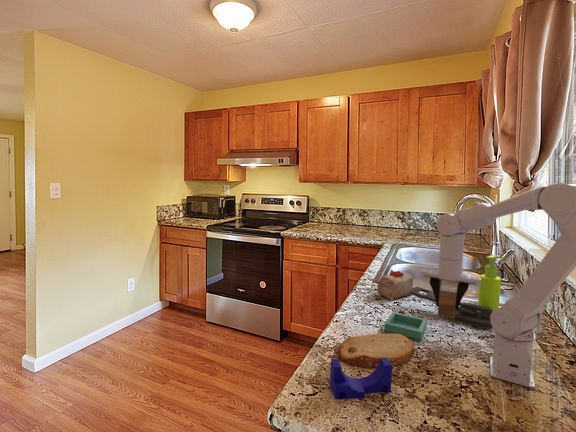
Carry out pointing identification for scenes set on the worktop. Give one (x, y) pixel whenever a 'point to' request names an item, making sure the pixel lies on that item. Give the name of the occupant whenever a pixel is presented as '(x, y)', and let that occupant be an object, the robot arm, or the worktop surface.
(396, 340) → the bread slice
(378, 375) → the blue cradle
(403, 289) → the food item
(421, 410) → the worktop surface
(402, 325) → the teal well
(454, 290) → the walnut post
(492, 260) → the soap dispenser
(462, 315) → the dark grey stapler
